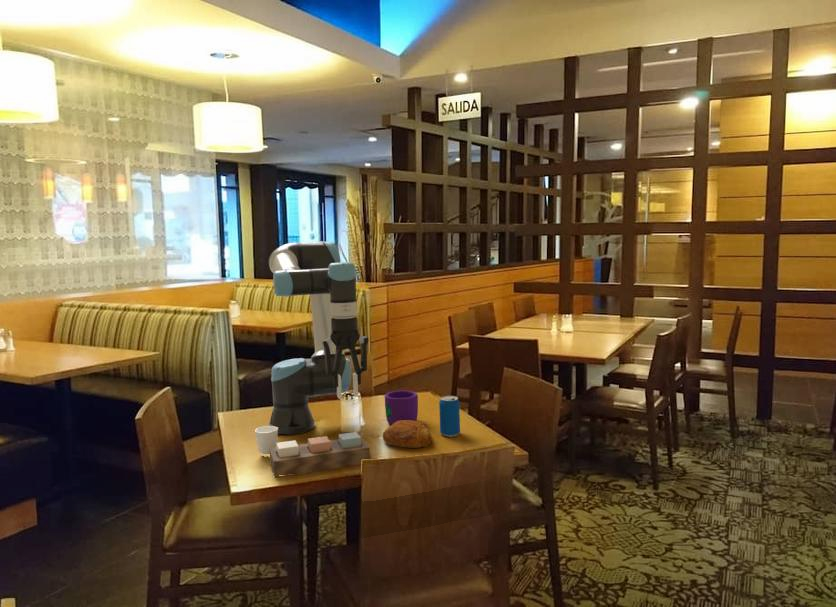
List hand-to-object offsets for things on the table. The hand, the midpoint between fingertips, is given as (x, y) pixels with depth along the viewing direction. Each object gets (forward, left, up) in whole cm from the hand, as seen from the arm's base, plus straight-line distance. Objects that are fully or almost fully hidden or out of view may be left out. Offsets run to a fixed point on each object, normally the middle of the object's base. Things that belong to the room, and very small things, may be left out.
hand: (347, 396), depth 184 cm
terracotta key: (-6, -6, -16) cm, 18 cm away
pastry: (+10, +20, -19) cm, 29 cm away
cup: (-26, -5, -19) cm, 33 cm away
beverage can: (+19, +31, -19) cm, 40 cm away
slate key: (0, 0, -16) cm, 16 cm away
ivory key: (-13, -13, -16) cm, 24 cm away
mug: (-4, +39, -19) cm, 43 cm away
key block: (-6, -6, -19) cm, 21 cm away
